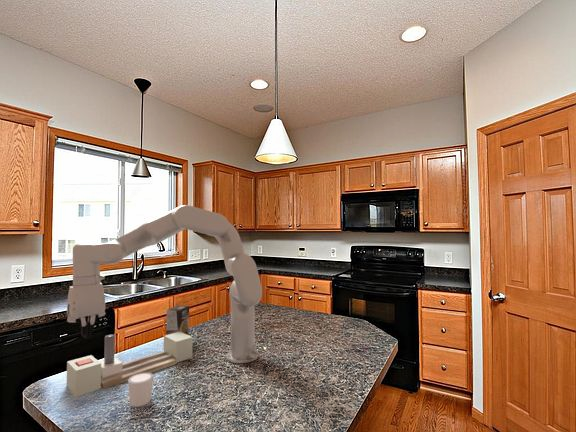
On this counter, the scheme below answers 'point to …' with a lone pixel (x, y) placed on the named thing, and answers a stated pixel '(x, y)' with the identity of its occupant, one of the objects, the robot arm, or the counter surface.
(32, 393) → the counter surface
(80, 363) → the red block
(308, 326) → the counter surface
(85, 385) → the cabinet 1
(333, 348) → the counter surface
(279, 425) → the counter surface
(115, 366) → the carriage
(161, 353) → the rail track
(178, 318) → the coffee box
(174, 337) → the cabinet
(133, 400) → the pale pink cylinder cup
